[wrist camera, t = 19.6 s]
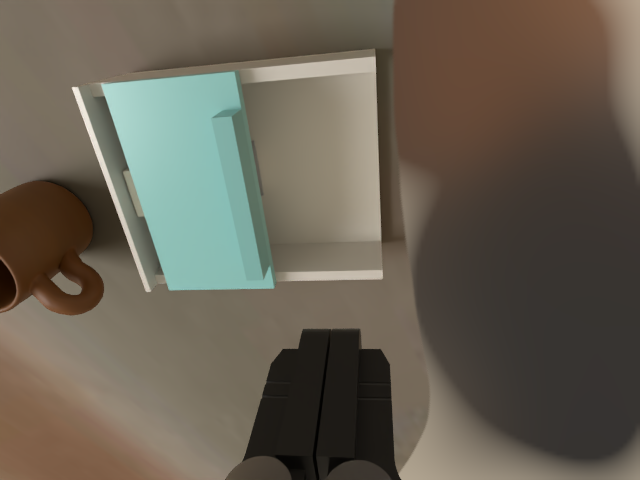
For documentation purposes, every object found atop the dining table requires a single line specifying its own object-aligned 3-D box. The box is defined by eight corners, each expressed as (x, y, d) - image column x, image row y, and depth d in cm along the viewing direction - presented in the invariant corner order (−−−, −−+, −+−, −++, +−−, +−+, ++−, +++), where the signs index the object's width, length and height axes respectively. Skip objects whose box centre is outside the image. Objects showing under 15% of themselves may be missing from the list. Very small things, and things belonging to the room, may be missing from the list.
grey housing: (179, 249, 38) (146, 291, 32) (127, 73, 31) (71, 87, 25) (381, 243, 35) (382, 287, 30) (375, 48, 28) (375, 58, 23)
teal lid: (173, 284, 33) (157, 306, 31) (108, 82, 26) (80, 89, 23) (276, 282, 32) (268, 304, 29) (238, 69, 25) (223, 76, 22)
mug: (151, 226, 37) (89, 287, 29) (130, 285, 41) (70, 354, 33) (20, 162, 36) (-85, 207, 27) (10, 229, 39) (-85, 287, 31)
